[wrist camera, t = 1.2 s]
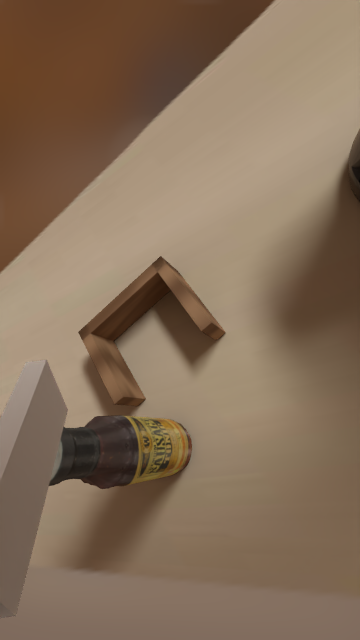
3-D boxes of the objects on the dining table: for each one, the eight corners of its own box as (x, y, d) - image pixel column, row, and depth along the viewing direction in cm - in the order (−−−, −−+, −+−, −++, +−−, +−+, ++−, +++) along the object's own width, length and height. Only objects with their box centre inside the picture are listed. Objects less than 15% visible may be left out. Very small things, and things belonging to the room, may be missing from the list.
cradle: (225, 332, 41) (211, 322, 37) (137, 405, 44) (114, 404, 39) (177, 271, 46) (160, 256, 42) (101, 339, 49) (78, 332, 45)
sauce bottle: (200, 467, 38) (81, 508, 21) (154, 478, 40) (10, 523, 23) (187, 410, 41) (70, 403, 23) (144, 423, 43) (7, 425, 25)
